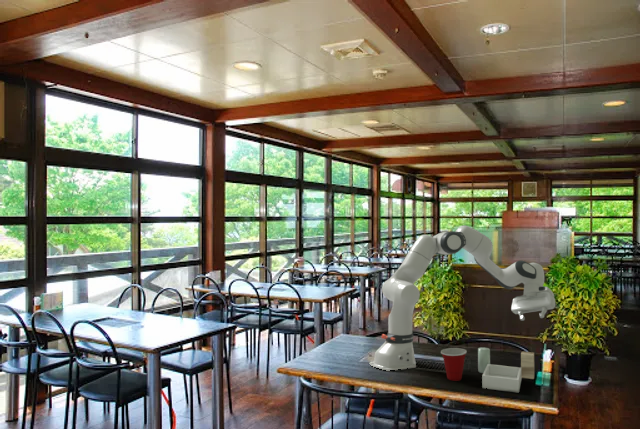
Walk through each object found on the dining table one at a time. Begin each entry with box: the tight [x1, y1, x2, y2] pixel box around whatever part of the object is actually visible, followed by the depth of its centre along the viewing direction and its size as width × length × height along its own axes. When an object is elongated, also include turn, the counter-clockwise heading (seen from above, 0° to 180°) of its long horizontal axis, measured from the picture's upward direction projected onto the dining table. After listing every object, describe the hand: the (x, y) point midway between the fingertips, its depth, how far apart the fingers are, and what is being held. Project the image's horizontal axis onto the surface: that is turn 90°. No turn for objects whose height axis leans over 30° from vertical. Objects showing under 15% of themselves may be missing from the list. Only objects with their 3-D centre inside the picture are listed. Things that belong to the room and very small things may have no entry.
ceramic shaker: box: [477, 347, 491, 374], centre depth 223 cm, size 5×5×10 cm
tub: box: [481, 363, 523, 394], centre depth 206 cm, size 18×14×5 cm
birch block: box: [520, 351, 535, 380], centre depth 215 cm, size 5×5×10 cm
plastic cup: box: [440, 347, 467, 382], centre depth 213 cm, size 11×11×12 cm
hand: (531, 318), depth 234 cm, fingers open, 8 cm apart
